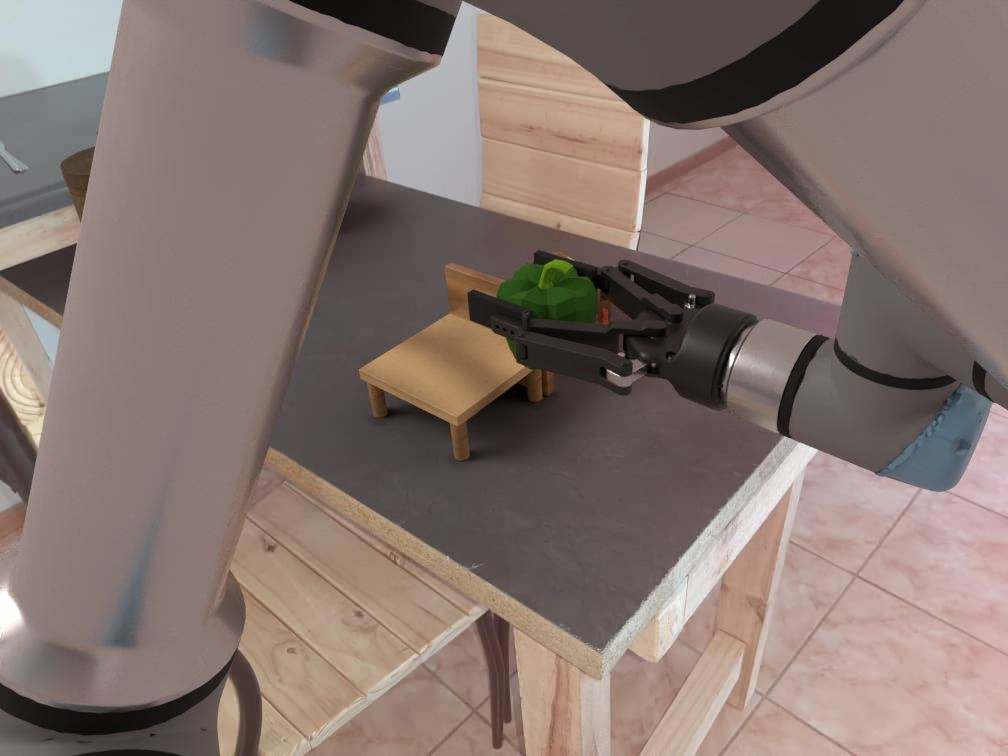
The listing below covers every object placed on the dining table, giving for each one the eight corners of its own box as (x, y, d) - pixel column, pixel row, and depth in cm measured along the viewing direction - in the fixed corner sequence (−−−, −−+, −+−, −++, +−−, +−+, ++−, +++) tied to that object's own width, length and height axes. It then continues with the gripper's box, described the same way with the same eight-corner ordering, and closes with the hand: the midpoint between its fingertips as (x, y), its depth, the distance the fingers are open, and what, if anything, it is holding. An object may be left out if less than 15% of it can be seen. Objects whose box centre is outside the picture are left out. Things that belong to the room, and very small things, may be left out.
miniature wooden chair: (462, 465, 77) (450, 364, 70) (367, 414, 84) (348, 319, 77) (554, 391, 86) (552, 295, 79) (461, 352, 94) (451, 262, 87)
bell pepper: (486, 349, 72) (477, 250, 66) (562, 324, 75) (560, 227, 69) (531, 395, 65) (526, 290, 60) (612, 365, 68) (615, 262, 63)
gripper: (665, 483, 52) (426, 373, 65) (795, 345, 65) (575, 275, 78) (672, 393, 48) (415, 294, 61) (810, 264, 61) (574, 204, 73)
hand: (505, 284), depth 69 cm, fingers closed on bell pepper, 8 cm apart
